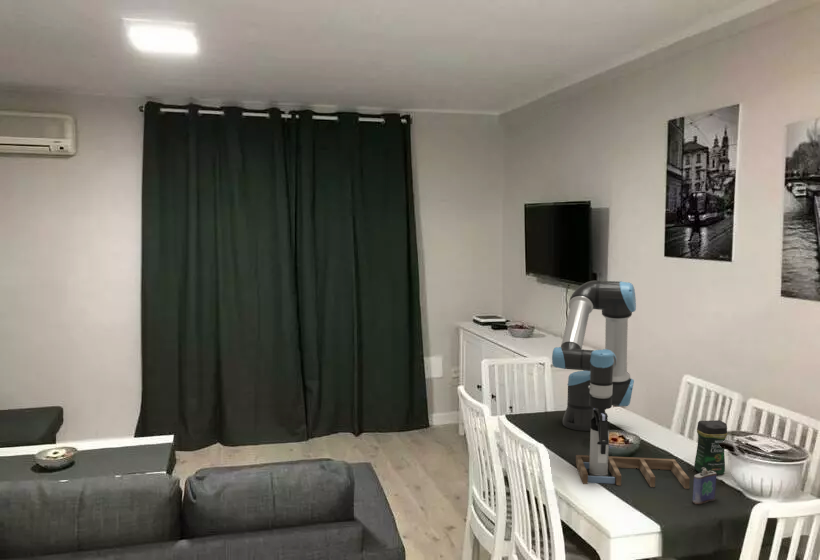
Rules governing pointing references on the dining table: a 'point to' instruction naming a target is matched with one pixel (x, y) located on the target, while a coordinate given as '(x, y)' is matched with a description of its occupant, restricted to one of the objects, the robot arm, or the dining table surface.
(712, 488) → the flask
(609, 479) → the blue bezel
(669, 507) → the dining table surface
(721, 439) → the coffee jar
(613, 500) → the dining table surface
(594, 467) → the travel mug
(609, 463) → the divider rack
